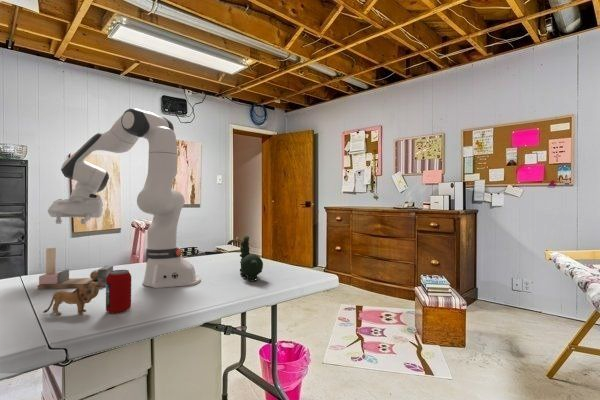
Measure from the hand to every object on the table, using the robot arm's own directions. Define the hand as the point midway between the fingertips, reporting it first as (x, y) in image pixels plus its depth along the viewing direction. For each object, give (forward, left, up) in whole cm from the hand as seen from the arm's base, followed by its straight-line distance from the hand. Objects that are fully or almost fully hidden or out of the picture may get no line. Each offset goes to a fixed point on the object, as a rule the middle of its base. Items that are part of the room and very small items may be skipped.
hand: (70, 223), depth 142 cm
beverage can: (-33, +49, -24) cm, 64 cm away
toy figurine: (-75, +11, -24) cm, 80 cm away
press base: (-8, +12, -24) cm, 28 cm away
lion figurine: (-21, +48, -24) cm, 57 cm away
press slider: (0, +12, -22) cm, 25 cm away
